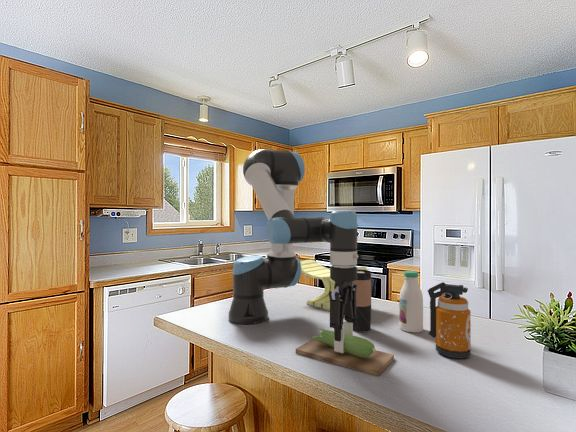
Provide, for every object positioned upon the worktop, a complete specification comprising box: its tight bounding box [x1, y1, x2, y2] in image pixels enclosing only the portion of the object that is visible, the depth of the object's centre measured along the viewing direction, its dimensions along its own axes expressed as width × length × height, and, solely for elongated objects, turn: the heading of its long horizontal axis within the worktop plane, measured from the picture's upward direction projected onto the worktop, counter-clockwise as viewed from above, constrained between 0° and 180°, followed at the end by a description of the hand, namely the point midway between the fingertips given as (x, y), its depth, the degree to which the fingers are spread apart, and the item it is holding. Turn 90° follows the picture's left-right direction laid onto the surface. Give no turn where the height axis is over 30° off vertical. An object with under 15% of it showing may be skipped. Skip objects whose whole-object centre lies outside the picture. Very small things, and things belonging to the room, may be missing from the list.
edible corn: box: [311, 328, 376, 358], centre depth 95 cm, size 5×20×5 cm
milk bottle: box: [398, 270, 424, 333], centre depth 116 cm, size 8×8×20 cm
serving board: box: [295, 338, 395, 377], centre depth 94 cm, size 24×12×1 cm, turn 56°
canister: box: [427, 281, 472, 359], centre depth 96 cm, size 9×11×20 cm
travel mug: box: [352, 269, 372, 333], centre depth 117 cm, size 8×8×20 cm
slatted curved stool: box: [300, 259, 368, 311], centre depth 149 cm, size 30×16×18 cm, turn 44°
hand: (343, 348), depth 94 cm, fingers closed on edible corn, 5 cm apart
